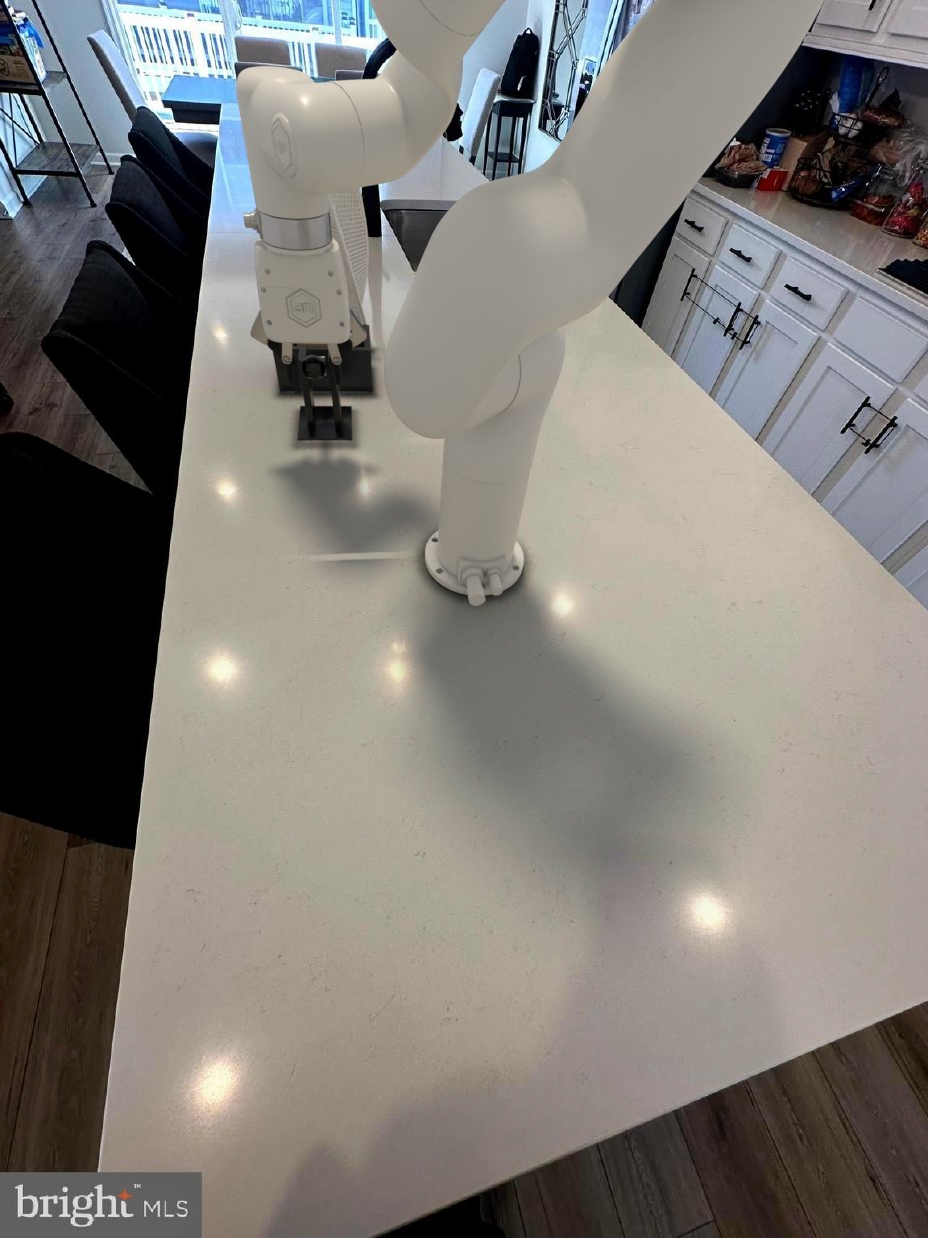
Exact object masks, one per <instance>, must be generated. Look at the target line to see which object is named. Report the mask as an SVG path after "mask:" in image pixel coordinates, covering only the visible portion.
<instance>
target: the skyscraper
mask: <svg viewBox="0 0 928 1238" xmlns="http://www.w3.org/2000/svg"><path fill="white" fill-rule="evenodd" d="M361 190H362V189H361V187H359V188H354V189H351V190H348V191H342V192H337V193H331V194H328V200H329V210H330V221H331V232H332V239H334V240H336V241H337V243H338V245H339V249H340V252H341V256H342V261H343V266H344V271H345V277H346V283H347V291H348V300H349V307H350V309H351V310H352V311H353V313H354V314H355V316H356V317H357V319H358V320H359V322H360V323H361V324H362V325H368V322H367V319H366V315H365V311H364V307H363V303H364V298H365V293H366V288H367V280H368V275H369V273H368V272H369V261H370V260H369V258H370V255H369V254H370V253H369V251H370V249H369V247H370V246H369V231H368V225H367V217H366V213H365V207H364V202H363V201H364V200H363V195H362V191H361ZM370 346H371V351H374V345H373V341H372V338H371V337H370Z"/></svg>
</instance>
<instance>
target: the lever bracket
mask: <svg viewBox="0 0 928 1238" xmlns="http://www.w3.org/2000/svg"><path fill="white" fill-rule="evenodd" d="M307 356H308V352H307V346H299V356H298V358H299V365H300V372H301V378H302V391H301V392H302V395H303V396H302V398H303V403H304V405H300V406H299V417H298V426H297V428H298V429H297V441H353V408H352V405H342V400H341V399H342V398H341V391H340V388H339V385H337V394H333V393H331V392H330V394H331V401H332V402H331V403H332V405H315V397H314V391H313V388H312V381H311V379H309V378H307V377H306V376H305V374H304V373H303V370H302V363H303V360H304V359H305V358H306V357H307ZM329 356H330V353H329V350H328V361H329Z"/></svg>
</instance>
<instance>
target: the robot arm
mask: <svg viewBox="0 0 928 1238" xmlns="http://www.w3.org/2000/svg"><path fill="white" fill-rule="evenodd" d="M506 1H507V0H369V2H370V6H371V7H372V10H373V13H374V15H375V17H376V19H377V22H378V23H379V25H380V27H381V29H382V30H383V32H384V34H385V36H386V37H387V38H388V40H389V42H390V43H391V44H392V45H393V46H394V48H395V52H394V53H393V54H392V56H391V57H390V60H388V62H387V64H386V66H385V67H384V68H383V70H382V71H381V72H380V73H379V74H378V76H376V77H375V78H364V79H363V78H361V79H359V78H358V79H344V80H343V79H341V80H329V81H328V80H327V81H324V82H315V81H314V79H313V78H311V76H309V74H306V73H305V72H303V71H300V70H298V69H293V68H288V67H283V66H282V67H281V66H272V65H261V66H260V65H259V66H251V67H247V68H245V69H243V70H241V71H240V73H238V76H237V79H236V83H235V86H236V87H235V91H236V98H237V106H238V111H239V115H240V117H239V118H240V122H241V128H242V134H243V140H244V145H245V150H246V157H247V163H248V168H249V175H250V180H251V181H250V182H251V186H252V192H253V197H254V205H255V208H254V211H250V212H243V214H242V215H243V216H242V217H243V224H244V228H246V229H252V230H253V231H256V233H257V234H258V235H259V237H258V238H257V239H256V241H255V242H254V268H255V269H254V270H255V281H256V288H257V296H258V303H259V311H258V312H257V314H256V317H255V319H254V322H253V323H252V326H251V328H250V335H249V336H250V337H251V338H252V339H254V340H256V341H257V342H259V343H261V344H263V345H265V346H267V348H269V350H271V351H272V353H273V352H274V353H276V354H277V355H278V356H279V357H280V358H282V361H283V362H284V363H285V364H286V368H287V374H288V380H289V384H294V388H295V391H294V394H295V395H300V394H301V393H302V391H301V389H302V378H301V372H300V365H299V358H298V355H296V353H295V351H294V350H293V343H299V344H327V346H328V350H329V353H330V356H329V361H328V368H329V377H330V386H331V391H330V394H331V393H333V394H337V385H342V378H341V367H340V363H341V360H342V359H343V358H344V357H345V356H346V355H347V354H348V353H349V352H350V351H351V350H352V348H353V347H355V346H357V345H358V344H360V343H361V342H363V341H364V340H366V338H367V337H366V330H365V329H364V327H363V326H362V324H361V323H360V322H359V320H358V319H357V317H356V316H355V314H354V313H353V311H352V310H351V309H350V307H349V300H348V291H347V283H346V277H345V271H344V266H343V261H342V256H341V252H340V249H339V245H338V243H337V241H336V240H334V239H332V232H331V221H330V210H329V200H328V194H331V193H337V192H342V191H348V190H351V189H354V188H359V187H360V188H365V187H371V186H376V185H382V184H388V183H392V182H394V181H397V180H399V179H401V178H402V177H405V176H406V175H407V174H408V173H410V172H411V171H412V170H413V169H415V167H416V166H417V165H419V163H420V162H421V161H422V159H424V158H425V156H426V155H428V153H429V152H430V150H431V149H432V148H433V147H434V146H435V145H436V143H438V141H439V139H440V138H441V137H442V136H443V135H444V133H445V132H446V131H447V129H448V127H449V126H450V124H451V122H452V119H453V117H454V115H455V112H456V110H457V109H456V108H457V105H458V101H459V97H460V93H461V88H462V82H463V76H464V75H463V74H464V57H465V55H466V54H467V53H468V51H469V50H470V49H471V48H472V46H473V45H474V44H475V42H476V41H477V39H479V37H480V35H481V34H482V32H483V31H484V30H485V29H486V27H487V26H488V25H489V23H490V22H491V20H492V19H493V18H494V17H495V16H496V14H497V13H498V11H499V10H500V9H501V8H502V6H503V5H504V4H505V2H506ZM824 2H825V0H654V1H653V3H652V4H651V5H650V6H649V7H648V9H647V10H646V11H645V13H644V14H643V15H642V16H641V17H640V19H639V20H638V21H637V22H636V23H635V25H633V27H632V28H631V29H630V31H629V32H628V33H627V34H626V35H625V36H624V38H623V39H622V40H621V42H620V43H619V44H618V45H617V47H616V48H615V50H614V51H613V52H612V54H611V55H610V56H609V58H608V59H607V61H606V62H605V64H604V65H603V67H602V69H601V70H600V72H599V73H598V75H597V77H596V79H595V80H594V82H593V84H592V87H591V88H590V90H589V92H588V94H587V97H585V99H584V102H583V104H582V106H581V108H580V110H579V111H578V113H577V115H576V117H575V118H574V119H573V122H572V123H571V125H570V127H569V129H568V130H567V132H566V133H565V135H564V137H563V138H562V140H561V141H560V143H559V145H558V146H557V147H556V149H554V151H553V152H552V154H551V155H550V156H549V158H548V159H547V160H546V161H545V162H543V163H542V164H540V165H539V166H538V167H536V168H535V169H532V170H530V171H527V172H523V173H519V174H516V175H514V174H513V175H510V176H506V177H502V178H497V179H494V180H491V181H488V182H485V183H483V184H480V185H477V186H476V187H473V188H472V189H471V190H469V191H468V192H466V193H465V194H463V195H462V196H461V197H460V198H459V199H457V200H456V202H454V204H453V205H451V207H450V208H449V209H448V210H447V211H446V212H445V213H444V215H443V217H442V218H441V219H440V221H439V222H438V224H437V225H436V227H435V228H434V230H433V232H432V234H431V236H430V238H429V240H428V243H427V245H426V247H425V249H424V252H423V255H422V256H421V259H420V262H419V263H418V266H417V269H416V271H415V273H414V276H413V278H412V280H411V282H410V286H409V288H408V290H407V293H406V295H405V297H404V300H403V303H402V305H401V307H400V310H399V313H398V315H397V317H396V320H395V322H394V325H393V326H392V327H393V328H392V330H391V333H390V335H389V339H388V342H387V346H386V349H385V355H384V363H383V364H384V365H383V368H384V369H383V376H384V385H385V391H386V394H387V399H388V400H389V404H390V407H392V410H393V412H394V413H395V416H396V417H397V418H398V420H399V421H400V422H401V423H402V424H403V425H404V426H405V427H406V428H408V429H409V430H410V431H411V432H413V433H414V434H417V435H418V436H421V437H425V438H428V439H434V440H443V441H444V442H443V451H442V452H443V453H442V468H441V471H442V472H441V483H440V501H439V502H440V503H439V518H438V529H437V530H436V531H435V532H433V534H431V536H430V537H429V538H428V540H427V542H426V544H425V549H424V563H425V566H426V570H427V571H428V573H429V575H430V576H431V577H432V578H433V579H434V580H435V581H436V582H437V583H439V584H440V585H441V586H443V587H444V588H446V589H448V590H449V591H451V592H452V591H453V592H455V593H458V594H461V595H466V596H467V599H468V603H469V604H470V605H471V606H473V607H479V606H481V605H483V604H485V602H486V596H490V595H492V596H495V597H496V596H500V595H502V594H503V592H504V591H506V590H507V589H509V588H511V587H512V586H513V585H514V584H515V583H516V582H517V581H518V580H519V578H520V577H521V575H522V572H523V570H524V569H523V568H524V565H525V555H524V550H523V549H522V546H521V544H520V543H519V541H518V540H517V537H518V532H519V528H520V522H521V517H522V513H523V507H524V504H525V498H526V495H527V494H526V493H527V489H528V483H529V479H530V474H531V470H532V467H533V462H534V458H535V452H536V448H537V444H538V439H539V436H540V432H541V428H542V424H543V422H544V418H545V415H546V412H547V410H548V408H549V405H550V403H551V400H552V397H553V395H554V392H555V389H556V387H557V385H558V381H559V380H560V375H561V372H562V369H563V365H564V360H565V355H566V354H565V353H566V333H565V326H566V325H569V324H571V323H572V322H575V321H577V320H579V319H581V318H583V317H584V316H586V315H588V314H590V313H591V312H593V311H594V310H596V309H597V308H598V307H599V306H600V305H602V303H603V302H605V301H606V299H607V298H608V297H609V296H610V295H611V294H612V292H613V291H614V290H615V289H616V287H617V286H618V285H619V284H620V282H621V281H622V279H623V278H624V277H625V275H626V274H627V273H628V271H629V270H630V269H631V267H632V266H633V265H634V264H635V262H636V261H637V260H638V258H639V257H640V256H641V255H642V254H643V252H645V250H646V249H647V247H648V246H649V245H650V244H651V242H652V241H653V240H654V239H655V237H656V236H657V235H658V233H659V232H660V231H661V230H662V229H663V228H664V226H665V225H666V224H667V222H668V221H669V220H670V218H671V217H672V216H673V215H674V214H675V212H676V211H677V210H678V209H679V208H680V206H681V205H682V203H683V202H684V201H685V200H686V198H687V197H688V195H689V194H690V193H691V191H692V190H693V188H694V187H695V186H696V184H697V183H698V182H699V180H700V179H701V178H702V177H703V175H704V174H705V172H706V171H707V170H708V169H709V167H710V166H711V165H712V164H713V162H714V161H715V160H716V159H717V158H718V156H719V155H720V154H721V152H722V151H723V150H724V148H725V147H726V146H727V145H728V144H729V142H730V141H731V140H732V139H733V138H734V136H735V135H736V134H737V133H738V131H739V130H740V129H741V128H742V127H743V125H744V124H745V123H746V121H747V120H748V119H749V117H751V115H752V114H753V113H754V111H755V110H756V109H757V107H758V106H759V105H760V103H761V102H762V100H763V99H764V98H765V97H766V95H767V94H768V93H769V92H770V90H771V89H772V87H773V86H774V84H776V82H777V80H778V79H779V78H780V76H781V75H782V73H783V72H784V70H785V69H786V68H787V66H788V64H789V63H790V62H791V60H792V59H793V57H794V55H795V53H796V52H797V51H798V50H799V47H800V46H801V44H802V43H803V41H804V39H805V38H806V35H807V34H808V32H809V30H810V29H811V27H812V25H813V23H814V21H815V20H816V18H817V15H819V12H820V10H821V8H822V6H823V5H824ZM350 329H351V331H352V332H351V333H350ZM433 540H434V541H433ZM435 540H436V541H435Z"/></svg>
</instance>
